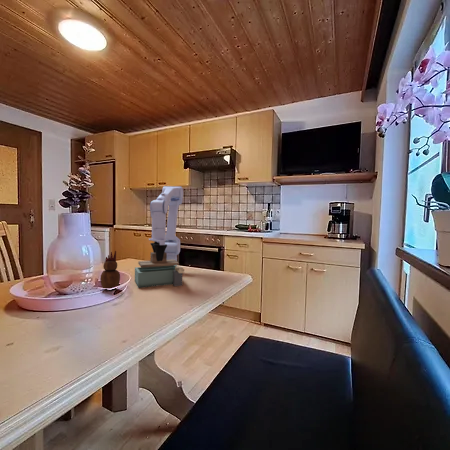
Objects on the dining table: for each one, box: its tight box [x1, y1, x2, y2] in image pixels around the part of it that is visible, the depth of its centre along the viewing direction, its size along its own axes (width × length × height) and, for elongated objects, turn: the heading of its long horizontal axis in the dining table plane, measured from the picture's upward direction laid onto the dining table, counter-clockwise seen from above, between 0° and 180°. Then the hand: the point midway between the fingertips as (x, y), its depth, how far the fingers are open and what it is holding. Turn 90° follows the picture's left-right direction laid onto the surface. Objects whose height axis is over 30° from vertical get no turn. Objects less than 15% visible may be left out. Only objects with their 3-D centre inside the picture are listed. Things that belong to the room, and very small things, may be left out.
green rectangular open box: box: [134, 265, 183, 289], centre depth 110 cm, size 14×18×6 cm
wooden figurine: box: [99, 250, 121, 289], centre depth 99 cm, size 7×6×15 cm
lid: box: [137, 251, 180, 268], centre depth 111 cm, size 8×15×5 cm, turn 116°
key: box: [175, 265, 185, 274], centre depth 105 cm, size 6×2×2 cm, turn 26°
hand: (158, 259), depth 111 cm, fingers closed on lid, 4 cm apart
